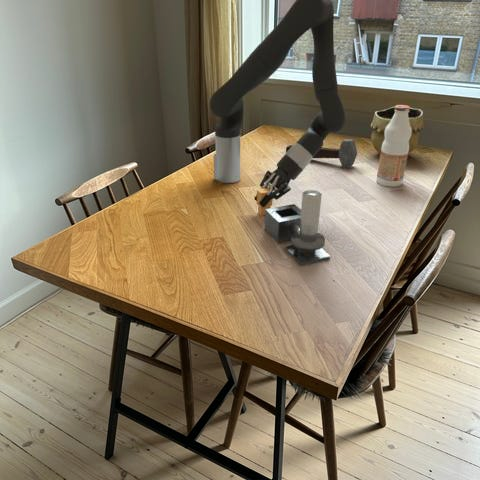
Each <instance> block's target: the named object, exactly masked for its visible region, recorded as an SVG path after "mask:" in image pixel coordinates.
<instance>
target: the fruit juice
mask: <svg viewBox="0 0 480 480" xmlns="http://www.w3.org/2000/svg"><path fill="white" fill-rule="evenodd" d="M394 107H395V114H394V116H393V117H392V119H391V121H390V123H389V124H388V125H387V126H386V128H385V132H384V134H385V140H384V141H383V144H382V148H381V154H380V153H379V154H380V155H379V161H378V168H377V171H376V172H377V173H376V183H377V184H380V185H381V186H384V187H389V188H390V187H392V188H393V187H394V188H395V187H399V186H401V185H402V184H403V182H404V181H403V180H404V176H405V171H406V166H407V161H408V160H407V159H408V156H409V154H408V152H409V139H410V137H411V134H412V129H411V127H410V123H409V117H408V112H409V110H410V108H411V107H410V106H409V105H405V104H396V105H395V106H394Z"/></svg>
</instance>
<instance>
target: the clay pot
mask: <svg viewBox="0 0 480 480" xmlns="http://www.w3.org/2000/svg"><path fill="white" fill-rule="evenodd" d="M394 114H395V106H392V107H389V108H386V109H382V110H378V111H375V112H374V115H373V119H372V122H371V124H370V129H371V130H372V133H371V135H370V136H371V137H370V139H371V144H372V146H373V148H374V149H375V151H376V152H377V153H378V154H381V148H382V144H383V141H384V140H385V134H384V132H385V128H386V126H387V125H388V124H389V123H390V121H391V119H392V117H393V116H394ZM408 117H409V123H410V127H411V129H412V134H411V137H410V139H409V152H408V155H410V153H412V152H413V151H414V150H415V149H416V147H417V145H418V143H419V139H420V135H419V134H420V132H421V130H424V111H422V109H419V108H412V107H410V110H409V112H408Z"/></svg>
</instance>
